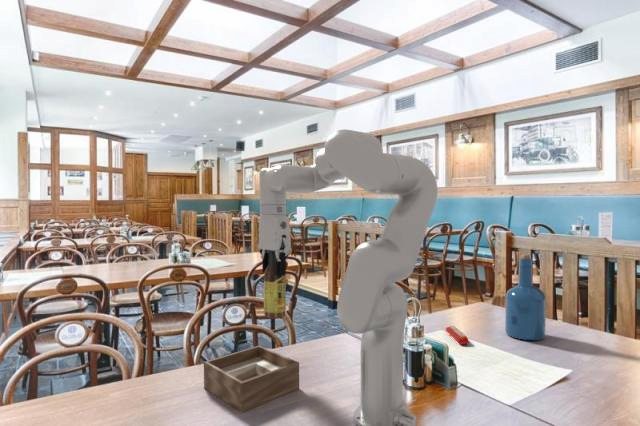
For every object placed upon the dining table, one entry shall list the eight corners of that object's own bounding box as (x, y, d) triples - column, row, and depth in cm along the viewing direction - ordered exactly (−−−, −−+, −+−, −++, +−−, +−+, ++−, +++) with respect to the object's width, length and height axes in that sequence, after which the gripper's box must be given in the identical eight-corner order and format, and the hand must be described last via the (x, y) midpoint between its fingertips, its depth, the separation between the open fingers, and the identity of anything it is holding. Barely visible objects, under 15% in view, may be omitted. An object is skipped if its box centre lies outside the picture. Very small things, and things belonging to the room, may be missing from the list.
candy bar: (444, 332, 158) (444, 324, 158) (453, 332, 158) (454, 324, 158) (459, 347, 142) (459, 338, 142) (470, 346, 142) (470, 338, 142)
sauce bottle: (281, 320, 116) (281, 249, 116) (260, 319, 118) (260, 249, 117) (288, 314, 123) (288, 247, 122) (268, 312, 124) (268, 246, 123)
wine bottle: (496, 333, 156) (497, 253, 155) (521, 328, 161) (522, 251, 160) (529, 344, 143) (530, 258, 142) (554, 339, 149) (556, 255, 148)
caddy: (299, 388, 111) (299, 362, 110) (241, 412, 98) (241, 383, 98) (259, 368, 123) (259, 345, 123) (204, 387, 111) (203, 362, 111)
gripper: (302, 210, 116) (303, 275, 116) (266, 210, 128) (267, 268, 129) (280, 211, 111) (281, 279, 111) (245, 211, 123) (246, 271, 124)
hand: (274, 273), depth 120 cm, fingers closed on sauce bottle, 5 cm apart
